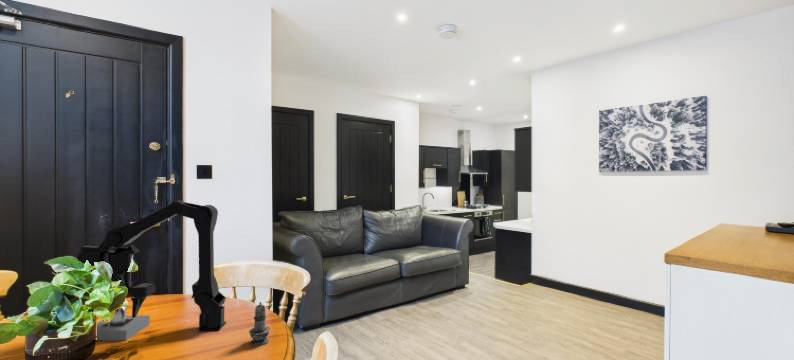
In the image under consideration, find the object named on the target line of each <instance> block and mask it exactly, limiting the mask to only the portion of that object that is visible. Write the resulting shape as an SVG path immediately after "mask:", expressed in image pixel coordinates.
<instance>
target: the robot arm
mask: <svg viewBox="0 0 794 360" xmlns="http://www.w3.org/2000/svg"><path fill="white" fill-rule="evenodd" d="M177 215H180V216H182V217H184V218H185V217H186V218H188V219H192V220H193V223H194V227H195V229H196V232H197V236H198V279H197V281H196V282H194V283H192V285H191V290H192V296H191V299H193V301H194V303H195V304H196V305H197V306H198V307H199V309H200V310H199V311H200V313H199V316H198V327H199V328H198V329H197V331H199V332H202V331H203V332H204V331H205V332H207V331H208V332H209V331H220V330H221V329H222V328H223V327H224V326H225V325H226V324H227V321H225V310H226V309H225V305H224V304H225V302H226V299H227V297H225V295H224V294H223V293H221V292H220V289H219V285H218V281H217V278H216V277H215V273H214V271H215V262H214V251H215V250H214V247H215V246H214V232H215V228H216V225H217V220H218V216H219V211H218V208H217V207H216V206H214V205H212V204H205V205H200V204H195V203H192V202H191V203H190V202H187V201H184V200H175V201H171V203H169V204H168V205H166V206H164V207H162V208H160V209H158V210H155V212H153V213H151V214H149V215H145V216H144V217H142V218H140V219H139V220H136V221H135V222H131V223H128V224H124V225H121V226H118V227H115V228H112V229H110V230H109V231H107V232H106V234H105V238H104V240H103V241H102V242H101V243H100V244H99V245H97V246H95V245H94V246H92V245H84V246H81V249H80V252H79V253H78V254H77V258H76V259H78V260H79V261H81V262H82V263H85V262H86V260H88V261H89V263H90V264H91V265H92V266H94V262H100V261H105V262H107V263H109V264H110V265H111V267H112V269H113V274H112V281H119V280H122V281H121V282H120V285H121V286H126V287H127V288H128V293H127V294H131V296H132V297H131V298H130V300H131V302H132V307H131V308H132V309H131V311H132V312H131V316H132V318H135V317H136V316H138V313H139V311H140V309H141V307H142V305H143V303H144V302H145V300H146V298H148V297H149V296H151V295H152V294H154V293H156V285H155V283H154V282H153V283H147V282H146V283H140V284H137V285H135V286H133V285H134V281H132V279H131V278H132V273H133V272H127V271H128V268H129V266H130V263H131V264H132V254H136V253H138V252H140V249H139V248H138V247H136V246H135V244H131V243H133V242H134V241H135V240H136V239H138V238H139V237H140V236H141V235H143V234H145V232H147V231H148V230H150V229H152V228H153V227H155V226H158V225H159V224H162V223H164V222H165V221H167V220H170V219H171V218H173V217H175V216H177ZM129 244H131V245H129ZM125 245H129V246H128V247H122V246H125ZM114 248H116V249H114ZM112 249H114V250H112ZM223 305H224V306H223Z"/></svg>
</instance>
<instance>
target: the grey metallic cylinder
mask: <svg viewBox="0 0 794 360" xmlns="http://www.w3.org/2000/svg"><path fill="white" fill-rule="evenodd" d="M123 305H124V306H122V307H121V308H119V309H117V310H115V312H114V317H113V318H112V319H111V320H110V327H118V326H124V325H125V324H126V316H127V304H123Z"/></svg>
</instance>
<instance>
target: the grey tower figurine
mask: <svg viewBox="0 0 794 360" xmlns="http://www.w3.org/2000/svg"><path fill="white" fill-rule="evenodd" d="M254 308H255V309H254V314H255V315H254V317H253V320H254V326H253V328H251V329H249V331H248V333H249V335H250V338H251V341H249V345H250V346H252V347H262V346H265V345H267V344H268V343H269V341H270V339H268V338H267V337H268V336H269V334H270V331H271V328H270V327H269V326H266V319H267V316H266V306H265V305H264V304H262V302H261V301H260V302H259V304H258V305H256V306H255V307H254Z"/></svg>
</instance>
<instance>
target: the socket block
mask: <svg viewBox="0 0 794 360" xmlns="http://www.w3.org/2000/svg"><path fill="white" fill-rule="evenodd" d="M150 319H151V318H150V315H136V317H135V318H132V315H126V324H125V325H124V326H118V327H110V322H105V321H104V319H102V320H100V321H98V322H96V323H97V340H102V341H101V342H113V341H114V342H115V341H119V342H120V341H122V342H123V341H128V340H129V339H131V338H132V337H133V336H135V335H136V334H138V333H140V332H141V331H142V330H144V329H145V328H146V327H149V326H150Z"/></svg>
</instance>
